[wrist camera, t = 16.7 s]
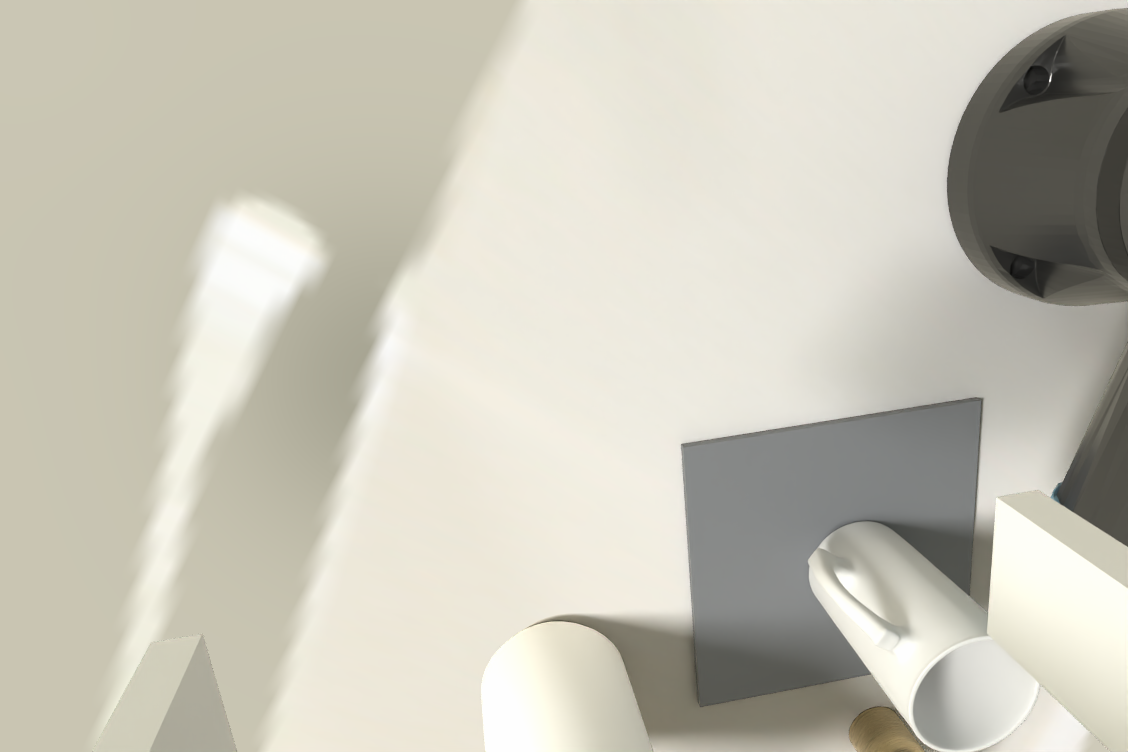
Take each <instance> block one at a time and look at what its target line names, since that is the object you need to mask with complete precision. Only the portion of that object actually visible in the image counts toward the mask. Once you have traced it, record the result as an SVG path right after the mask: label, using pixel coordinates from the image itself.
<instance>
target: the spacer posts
mask: <svg viewBox="0 0 1128 752" xmlns="http://www.w3.org/2000/svg"><path fill="white" fill-rule="evenodd" d="M849 738H850V741H851V743H852V744H853V746H854V748H855V749H856V751H857V752H925V751H924V750H923V748H922V747H921V746H920V744H919V743H918V742H917V740H916V739H915V738H914V737H913V735H912V734H911V733H910V731H909V730H908V729H907V727H906V726H905V725H904V723H903V722H902V721H901V719H900V718H899V717H898V715H897V714H896V713H895V712H894V711H893V710H891V709H889V708H886V707H874V708H871V709H868V710H866V711H864V712H862V713H861V714H860V715H859V716H857V717H856V719H855V720H854V721H853V723H852V725H851V727H850V730H849Z"/></svg>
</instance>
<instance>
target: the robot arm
mask: <svg viewBox="0 0 1128 752" xmlns="http://www.w3.org/2000/svg"><path fill="white" fill-rule="evenodd" d="M947 195H948V205H949V212H950V217H951V221H952V224H953V228H954V231H955V233H956V236H957V239H958V241H959V243H960V245H961V247H962V249H963V250H964V252H965V254H966V255H967V257H968V258H969V259H970V261H971V262H972V263H973V265H974V266H975V267H976V268H977V269H978V270H979V271H980V272H981V273H982V274H983V275H984V276H985V277H987V278H988V279H989V280H991V281H992V282H994V283H995V284H997V285H998V286H1000V287H1002V288H1004V289H1006V290H1008V291H1011V292H1013V293H1016V294H1019V295H1022V296H1026V297H1029V298H1032V299H1035V300H1038V301H1041V302H1045V303H1050V304H1056V305H1065V306H1087V305H1096V304H1105V303H1115V302H1124V301H1128V8H1123V9H1112V10H1105V11H1099V12H1092V13H1086V14H1080V15H1076V16H1071V17H1068V18H1065V19H1062V20H1059V21H1057V22H1054V23H1052V24H1050V25H1048V26H1046V27H1044V28H1042V29H1040V30H1038V31H1037V32H1035V33H1033V34H1031V35H1030V36H1029V37H1027V38H1026V39H1024V40H1023V41H1021V42H1020V43H1019V44H1018V45H1016V46H1015V47H1014V48H1013V49H1011V50H1010V51H1009V52H1008V53H1007V54H1006V55H1005V56H1004V57H1003V58H1002V59H1001V60H1000V61H999V62H998V63H997V64H996V65H995V66H994V67H993V69H992V70H991V71H990V72H989V73H988V75H987V76H986V77H985V79H984V80H983V81H982V83H981V84H980V86H979V87H978V89H977V90H976V92H975V93H974V95H973V97H972V98H971V100H970V102H969V104H968V106H967V108H966V110H965V112H964V114H963V116H962V119H961V121H960V123H959V126H958V129H957V132H956V135H955V138H954V141H953V145H952V149H951V154H950V159H949V166H948V177H947ZM987 634H988V635H989V636H990V637H991V638H992V639H993V640H994V641H995V642H996V643H997V644H998V645H999V646H1000V647H1001V648H1003V649H1004V650H1005V651H1006V652H1007V653H1008V654H1009V655H1010V656H1011V657H1012V658H1013V659H1014V660H1015V661H1016V662H1017V663H1018V664H1019V665H1020V666H1021V667H1022V668H1023V669H1024V670H1025V671H1027V672H1028V673H1029V674H1030V675H1031V676H1032V677H1033V678H1034V679H1035V680H1036V681H1037V682H1038V683H1039V684H1040V685H1041V686H1042V687H1043V688H1044V689H1045V690H1046V691H1047V692H1048V693H1049V694H1051V695H1052V696H1053V697H1054V698H1055V699H1056V700H1057V701H1058V702H1059V703H1060V704H1061V705H1062V706H1063V707H1064V708H1065V709H1066V710H1067V711H1068V712H1069V713H1070V714H1071V715H1072V716H1073V717H1075V718H1076V719H1077V720H1078V721H1079V722H1080V723H1081V724H1082V725H1083V726H1084V727H1085V728H1086V729H1087V730H1088V731H1089V732H1090V733H1091V734H1092V735H1093V736H1094V737H1095V738H1096V739H1098V740H1099V741H1100V742H1101V743H1102V744H1103V745H1104V746H1105V747H1106V748H1107V749H1108V750H1109V751H1110V752H1128V342H1127V344H1126V347H1125V349H1124V351H1123V353H1122V355H1121V358H1120V360H1119V362H1118V364H1117V366H1116V368H1115V371H1114V373H1113V375H1112V377H1111V379H1110V381H1109V384H1108V386H1107V388H1106V390H1105V392H1104V394H1103V397H1102V399H1101V401H1100V403H1099V405H1098V408H1097V410H1096V412H1095V414H1094V416H1093V418H1092V421H1091V423H1090V425H1089V427H1088V429H1087V431H1086V434H1085V436H1084V438H1083V440H1082V442H1081V444H1080V447H1079V449H1078V451H1077V453H1076V455H1075V458H1074V460H1073V462H1072V464H1071V466H1070V468H1069V470H1068V472H1067V474H1066V476H1065V478H1064V480H1063V482H1062V483H1059V484H1058V485H1057V486H1056V488H1055V489H1054V491H1053V493H1052V496H1051V498H1050V497H1048V496H1047V495H1045V494H1044V493H1042V492H1040V491H1039V490H1035V491H1029V492H1023V493H1018V494H1012V495H1006V496H1000V497H996V510H995V524H994V539H993V553H992V567H991V581H990V596H989V610H988V624H987ZM92 752H237V750H236V746H235V743H234V740H233V736H232V733H231V729H230V726H229V722H228V719H227V715H226V712H225V709H224V705H223V702H222V699H221V695H220V692H219V688H218V685H217V681H216V678H215V675H214V671H213V668H212V664H211V661H210V657H209V654H208V651H207V647H206V644H205V640H204V637H203V634H198V635H192V636H186V637H180V638H174V639H169V640H163V641H157V642H151V643H150V645H149V647H148V649H147V651H146V653H145V655H144V656H143V658H142V660H141V662H140V664H139V666H138V667H137V669H136V671H135V673H134V675H133V677H132V679H131V680H130V682H129V684H128V686H127V688H126V690H125V691H124V693H123V695H122V697H121V699H120V701H119V703H118V704H117V706H116V708H115V710H114V712H113V714H112V715H111V717H110V719H109V721H108V723H107V725H106V727H105V728H104V730H103V732H102V734H101V736H100V738H99V739H98V741H97V743H96V745H95V747H94V749H93V751H92Z"/></svg>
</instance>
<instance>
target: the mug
mask: <svg viewBox="0 0 1128 752" xmlns="http://www.w3.org/2000/svg"><path fill="white" fill-rule="evenodd" d="M808 564H809V566H810V567H809V582H810V586H811V589H812V591H813V593H814V595H815V596H816V598H817V599H818V600H819V602H820V603H821V605H822V606H823V607H824V609H825V610H826V612H827V613H828V614H829V616H830V617H831V619H832V620H833V622H834V623H835V624H836V626H837V627H838V628H839V630H840V631H841V633H842V634H843V635H844V637H845V638H846V639H847V641H848V642H849V643H850V645H851V646H852V648H853V649H854V650H855V652H856V653H857V654H858V656H859V657H860V659H861V660H862V661H863V663H864V664H865V666H866V667H867V668H868V670H869V671H870V672H871V674H872V675H873V677H874V678H875V679H876V681H877V682H878V684H879V685H880V686H881V688H882V689H883V691H884V692H885V693H886V695H887V696H888V697H889V699H890V700H891V702H892V703H893V704H894V706H895V707H896V708H897V710H898V711H899V713H900V714H901V715H902V717H903V718H904V719H905V720H906V722H907V723H908V724H909V725H910V727H911V728H912V729H913V731H914V733H915V734H916V736H917V737H918V738H919V739H920V740H921V741H922V742H923V743H924V744H926V745H927V746H929V747H930V748H932V749H934V750H937V751H940V752H975V751H979V750H982V749H985V748H988V747H990V746H992V745H994V744H996V743H998V742H1000V741H1001V740H1003V739H1005V738H1006V737H1007V736H1009V735H1010V734H1011V733H1013V732H1014V731H1015V730H1016V729H1017V728H1018V727H1019V726H1020V725H1021V724H1022V723H1023V722H1024V721H1025V719H1026V718H1027V717H1028V715H1029V714H1030V712H1031V711H1032V709H1033V707H1034V705H1035V703H1036V700H1037V698H1038V694H1039V690H1040V684H1039V683H1038V682H1037V681H1036V680H1035V679H1034V678H1033V677H1032V676H1031V675H1030V674H1029V673H1028V672H1027V671H1025V670H1024V669H1023V668H1022V667H1021V666H1020V665H1019V664H1018V663H1017V662H1016V661H1015V660H1014V659H1013V658H1012V657H1011V656H1010V655H1009V654H1008V653H1007V652H1006V651H1005V650H1004V649H1003V648H1001V647H1000V646H999V645H998V644H997V643H996V642H995V641H994V640H993V639H992V638H991V637H990V636H989V635H988V634H987V624H988V612H987V611H986V610H985V609H983V608H982V607H981V606H980V605H979V604H978V603H977V602H975V601H974V600H973V599H972V598H971V597H970V596H968V595H967V594H966V593H965V592H964V591H963V590H962V589H960V588H959V587H958V586H957V585H956V584H955V583H954V582H952V581H951V580H950V579H949V578H948V577H947V576H945V575H944V574H943V573H942V572H941V571H940V570H939V569H937V568H936V567H935V566H934V565H933V564H932V563H931V562H930V561H928V560H927V559H926V558H925V557H924V556H923V555H922V554H921V553H919V552H918V551H917V550H916V549H915V548H914V547H913V546H911V545H910V544H909V543H908V542H907V541H905V540H904V539H903V538H902V537H900V536H899V535H898V534H897V533H896V532H894V531H893V530H892V529H890V528H889V527H887V526H885V525H883V524H880V523H877V522H871V521H861V522H855V523H851V524H848V525H845V526H843V527H841V528H839V529H837V530H835V531H834V532H832V533H831V534H830V535H828V536H827V537H826V538H825V539H824V540H823V541H822V542H821V544H820V545H819V546H818V548H817V549H816V550H815V551H814V552H813V554H812V555H811V556H810V558H809V559H808Z"/></svg>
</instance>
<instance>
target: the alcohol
mask: <svg viewBox="0 0 1128 752" xmlns="http://www.w3.org/2000/svg"><path fill="white" fill-rule="evenodd" d="M481 698H482V712H483V726H484V740H485V752H653V749H652V746H651V743H650V740H649V737H648V734H647V731H646V728H645V725H644V722H643V719H642V716H641V713H640V710H639V707H638V704H637V701H636V698H635V695H634V692H633V689H632V686H631V683H630V680H629V677H628V674H627V671H626V668H625V665H624V662H623V660H622V657H621V655H620V653H619V651H618V650H617V648H616V647H615V645H614V644H613V643H612V642H611V641H610V640H609V639H608V638H606V637H605V636H604V635H603V634H601V633H599V632H597V631H596V630H594V629H592V628H589V627H586V626H583V625H580V624H577V623H572V622H565V621H552V622H545V623H540V624H536V625H534V626H531V627H528V628H526V629H524V630H522V631H521V632H519V633H517V634H516V635H514V636H513V637H512V638H511V639H509V640H508V641H507V642H506V643H505V644H504V645H502V646H501V647H500V648H499V649H498V651H497V652H496V653H495V654H494V656H493V657H492V658H491V660H490V662H489V664H488V665H487V667H486V669H485V672H484V676H483V680H482V689H481Z"/></svg>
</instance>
